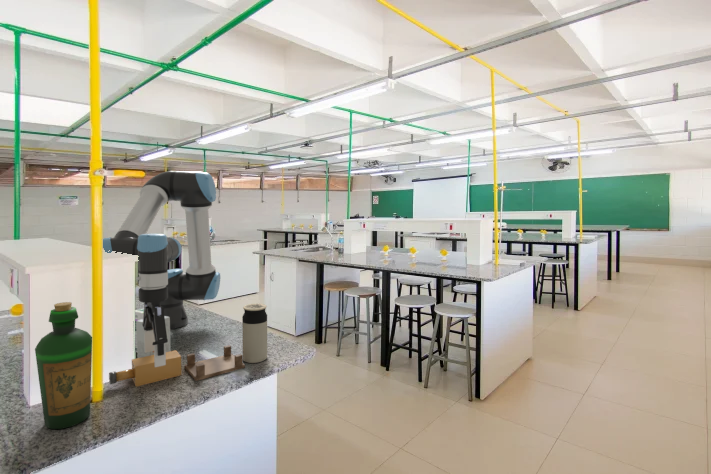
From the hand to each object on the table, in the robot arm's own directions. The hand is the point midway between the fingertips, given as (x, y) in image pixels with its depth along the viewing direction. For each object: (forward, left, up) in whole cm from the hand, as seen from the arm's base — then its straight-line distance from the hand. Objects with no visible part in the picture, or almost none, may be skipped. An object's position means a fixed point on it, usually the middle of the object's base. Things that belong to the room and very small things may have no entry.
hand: (154, 358), depth 110 cm
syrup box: (-24, +2, -6) cm, 25 cm away
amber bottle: (0, -2, -6) cm, 7 cm away
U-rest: (+4, +16, -6) cm, 18 cm away
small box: (-17, +3, -6) cm, 19 cm away
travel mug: (+5, +29, -6) cm, 30 cm away
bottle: (+12, -21, -6) cm, 25 cm away
